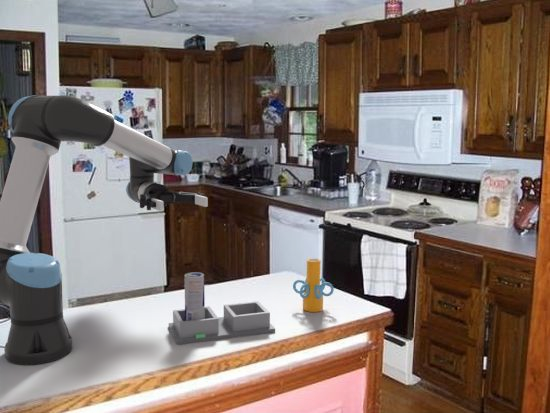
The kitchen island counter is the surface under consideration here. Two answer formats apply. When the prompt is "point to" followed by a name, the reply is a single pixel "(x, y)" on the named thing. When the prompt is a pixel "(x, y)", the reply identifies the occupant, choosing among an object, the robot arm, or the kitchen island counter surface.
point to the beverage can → (194, 296)
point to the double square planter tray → (222, 323)
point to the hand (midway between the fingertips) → (185, 204)
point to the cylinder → (313, 287)
